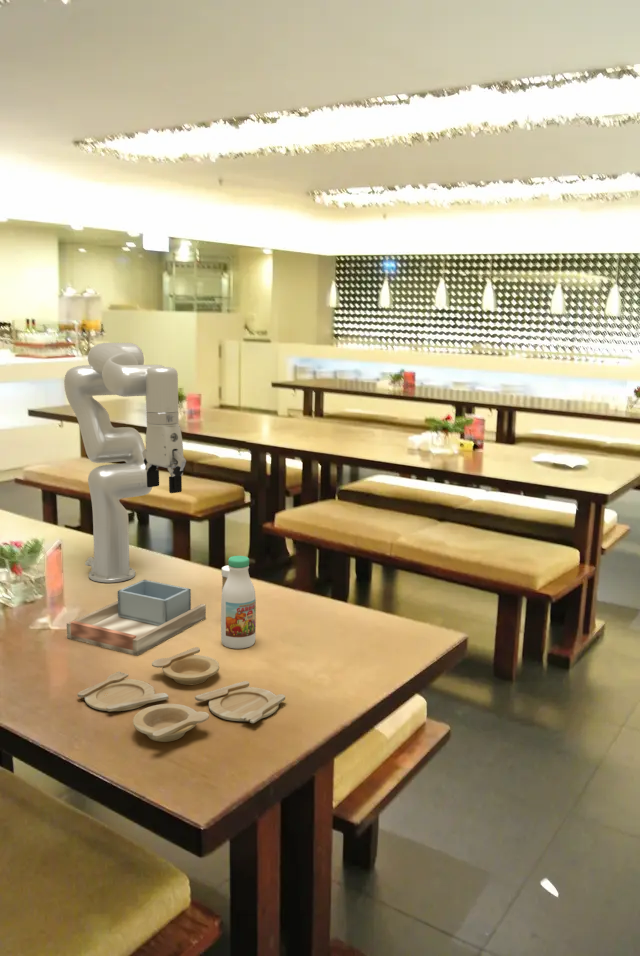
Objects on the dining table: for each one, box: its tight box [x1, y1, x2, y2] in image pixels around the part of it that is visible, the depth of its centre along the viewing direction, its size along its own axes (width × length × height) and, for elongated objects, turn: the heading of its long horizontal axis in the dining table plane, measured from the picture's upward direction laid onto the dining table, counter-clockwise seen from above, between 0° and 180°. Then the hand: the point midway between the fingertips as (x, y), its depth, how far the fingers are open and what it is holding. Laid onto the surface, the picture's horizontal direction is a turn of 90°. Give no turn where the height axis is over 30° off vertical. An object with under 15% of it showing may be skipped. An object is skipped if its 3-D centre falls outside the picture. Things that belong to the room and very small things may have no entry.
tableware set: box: [76, 646, 286, 743], centre depth 158 cm, size 35×29×4 cm
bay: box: [66, 600, 207, 657], centre depth 195 cm, size 20×26×4 cm
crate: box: [117, 579, 192, 626], centre depth 199 cm, size 14×10×6 cm
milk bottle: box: [220, 555, 257, 650], centre depth 186 cm, size 8×8×20 cm
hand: (164, 489), depth 201 cm, fingers open, 9 cm apart
